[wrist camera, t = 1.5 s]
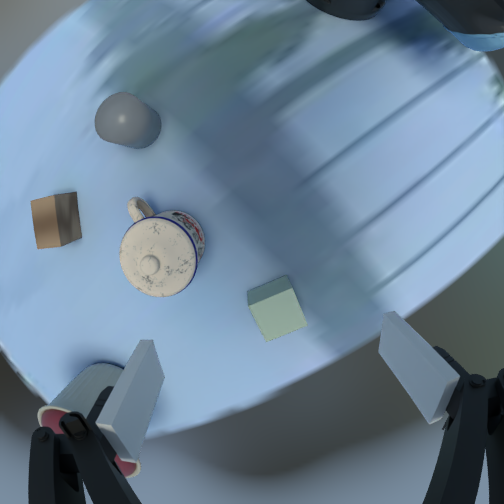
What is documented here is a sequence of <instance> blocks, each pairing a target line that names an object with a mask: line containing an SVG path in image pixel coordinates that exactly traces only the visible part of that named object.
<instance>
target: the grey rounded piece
mask: <svg viewBox="0 0 504 504" xmlns="http://www.w3.org/2000/svg"><path fill="white" fill-rule="evenodd" d="M95 129H96V132H97V134H98V135H99V136H100V138H102V139H103V140H105V141H107V142H111V143H115V144H119V145H123V146H127V147H131V148H136V149H140V148H145V147H147V146H149V145H150V144H152V143H153V142H154V141H155V140H156V138H157V137H158V135H159V133H160V130H161V120H160V117H159V115H158V114H157V112H155V111H154V110H153V109H152V108H150V107H149V106H148V105H146V104H145V103H143V102H142V101H141V100H139V99H138V98H137V97H135V96H134V95H132V94H130V93H127V92H119V93H116V94H113V95H111V96H109V97H108V98H107V99H106V100H104V101H103V103H102V104H101V105H100V107H99V108H98V110H97V113H96V116H95Z"/></svg>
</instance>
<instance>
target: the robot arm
mask: <svg viewBox="0 0 504 504" xmlns="http://www.w3.org/2000/svg"><path fill="white" fill-rule="evenodd" d="M307 1H308V2H310V3H311V4H312V5H314V6H315V7H317V8H319V9H321V10H322V11H324V12H327V13H329V14H331V15H334V16H337V17H340V18H345V19H350V20H365V19H369V18H372V17H374V16H375V15H376V14H377V13H378V12H379V11H380V10H381V9H382V8H383V6H384V4H385V1H386V0H307ZM416 1H417V2H418V3H419V4H421V5H422V6H423V7H424V8H425V9H426V10H428V11H429V12H430V13H431V14H432V15H433V16H434V17H435V18H436V19H437V20H438V21H439V22H440V23H442V24H443V27H444V28H445V29H446V30H447V31H449V32H451V33H452V34H453V35H454V36H455V37H456V38H457V39H458V40H459V41H460V42H461V43H462V44H463V45H465V46H466V47H468V48H470V49H473V50H475V51H493V50H497V49H501V48H504V0H416ZM379 353H380V355H381V356H382V358H383V359H384V360H385V362H386V363H387V365H388V366H389V367H390V369H391V370H392V371H393V373H394V374H395V376H396V377H397V378H398V380H399V381H400V383H401V384H402V385H403V387H404V388H405V390H406V391H407V392H408V394H409V395H410V397H411V398H412V400H413V401H414V402H415V404H416V406H417V407H418V408H419V410H420V411H421V413H422V414H423V416H424V417H425V419H426V420H427V422H428V423H429V424H431V423H434V422H436V421H438V420H440V419H442V417H443V415H444V413H445V411H447V412H448V414H449V416H448V418H447V420H446V422H445V424H444V426H443V428H442V429H443V430H444V428H445V432H444V436H443V441H442V445H441V449H440V453H439V456H438V460H437V463H436V466H435V470H434V473H433V476H432V479H431V482H430V485H429V488H428V491H427V493H426V497H425V499H424V501H423V504H475V500H476V496H477V492H478V487H479V483H480V478H481V472H482V466H483V460H484V453H485V449H486V456H487V466H488V478H489V504H504V368H503V369H501V370H500V371H499V373H498V376H497V378H492V379H487V380H486V379H485V378H484V377H483V376H481V375H478V374H472V375H470V374H468V372H466V371H465V369H464V368H462V366H461V365H460V364H458V363H457V362H456V361H454V359H453V358H452V357H451V356H450V355H449V354H448V353H447V352H446V351H445V350H444V349H442V348H440V347H438V346H435V347H431V346H430V345H429V344H428V343H427V342H426V341H425V340H424V339H423V338H422V337H421V336H420V335H419V334H418V333H417V332H416V331H415V330H414V329H413V328H412V327H411V326H410V325H409V324H408V323H407V322H406V321H404V320H403V319H402V318H401V317H400V316H399V315H398V314H397V313H396V312H395V311H393V312H388V313H383V322H382V331H381V339H380V345H379ZM164 378H165V377H164V374H163V371H162V368H161V365H160V362H159V359H158V355H157V352H156V349H155V346H154V342H153V340H140V342H139V343H138V345H137V347H136V349H135V350H134V352H133V354H132V356H131V357H130V359H129V361H128V363H127V365H126V366H125V368H124V370H123V372H122V374H121V375H120V377H119V379H118V381H117V383H116V385H115V386H107V387H106V388H105V389H104V390H103V391H101V393H100V394H99V396H98V398H97V400H96V402H95V403H94V406H93V407H92V409H91V410H90V412H89V414H88V416H87V418H86V419H85V417H84V416H83V414H82V413H80V412H76V411H72V412H68V413H66V414H64V415H63V416H62V417H61V418H60V420H59V427H60V429H61V430H62V431H63V433H64V434H55V433H54V431H53V430H52V429H51V428H50V427H46V426H43V427H40V428H38V429H36V430H35V432H34V433H33V435H32V440H31V449H30V461H29V485H28V490H29V492H28V494H29V504H86V501H85V494H84V488H83V482H84V484H85V486H86V489H87V491H88V493H89V495H90V497H91V500H92V501H93V504H142V503H141V502H140V500H139V499H138V497H137V496H136V494H135V493H134V491H133V490H132V488H131V486H130V485H129V483H128V482H127V480H126V478H125V477H124V475H123V473H122V471H121V470H120V468H119V466H118V464H117V463H116V461H115V460H114V459H115V457H116V454H117V455H118V456H119V458H120V459H121V460H122V461H127V462H133V463H137V460H138V457H139V453H140V450H141V447H142V444H143V441H144V437H145V434H146V431H147V428H148V425H149V422H150V419H151V416H152V413H153V410H154V407H155V404H156V401H157V398H158V395H159V392H160V389H161V386H162V383H163V381H164ZM82 479H83V480H82Z"/></svg>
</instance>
